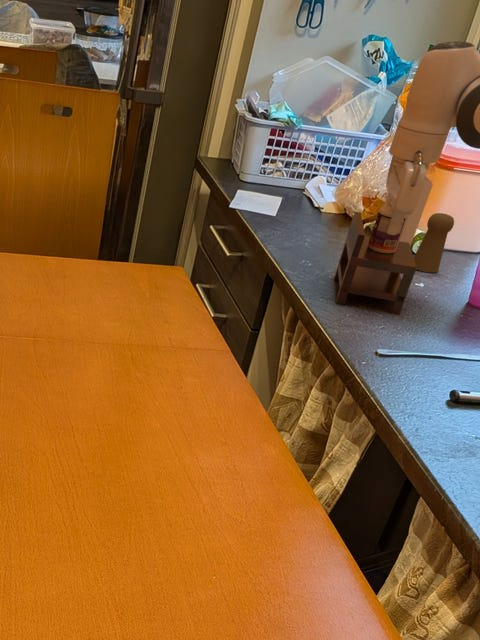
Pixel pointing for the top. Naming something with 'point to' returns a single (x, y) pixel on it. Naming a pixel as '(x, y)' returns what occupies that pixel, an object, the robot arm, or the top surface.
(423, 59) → the robot arm
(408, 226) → the milk
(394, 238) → the pill bottle
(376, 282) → the brown chair
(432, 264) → the brown pawn
